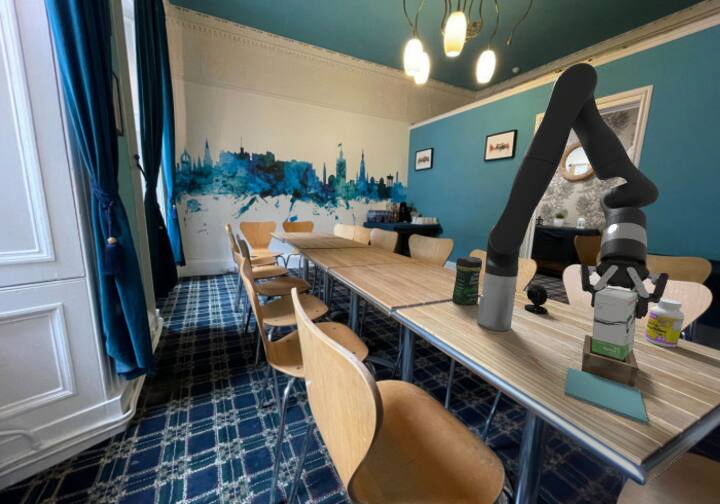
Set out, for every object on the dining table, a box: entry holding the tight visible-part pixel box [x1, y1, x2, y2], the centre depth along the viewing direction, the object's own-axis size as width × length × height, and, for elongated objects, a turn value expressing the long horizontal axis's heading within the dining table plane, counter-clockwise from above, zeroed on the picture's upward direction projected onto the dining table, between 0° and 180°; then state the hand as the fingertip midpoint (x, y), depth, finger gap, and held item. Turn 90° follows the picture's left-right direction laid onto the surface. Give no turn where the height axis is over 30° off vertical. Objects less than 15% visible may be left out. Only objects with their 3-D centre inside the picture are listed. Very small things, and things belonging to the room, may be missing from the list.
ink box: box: [591, 287, 638, 360], centre depth 55 cm, size 9×5×12 cm, turn 126°
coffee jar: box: [451, 256, 483, 306], centre depth 110 cm, size 10×8×19 cm
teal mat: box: [563, 366, 649, 425], centre depth 58 cm, size 12×12×1 cm
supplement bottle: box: [644, 298, 685, 348], centre depth 81 cm, size 7×7×13 cm
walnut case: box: [581, 334, 639, 388], centre depth 67 cm, size 9×13×4 cm
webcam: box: [523, 284, 549, 315], centre depth 104 cm, size 8×8×10 cm
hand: (617, 312), depth 55 cm, fingers closed on ink box, 5 cm apart
